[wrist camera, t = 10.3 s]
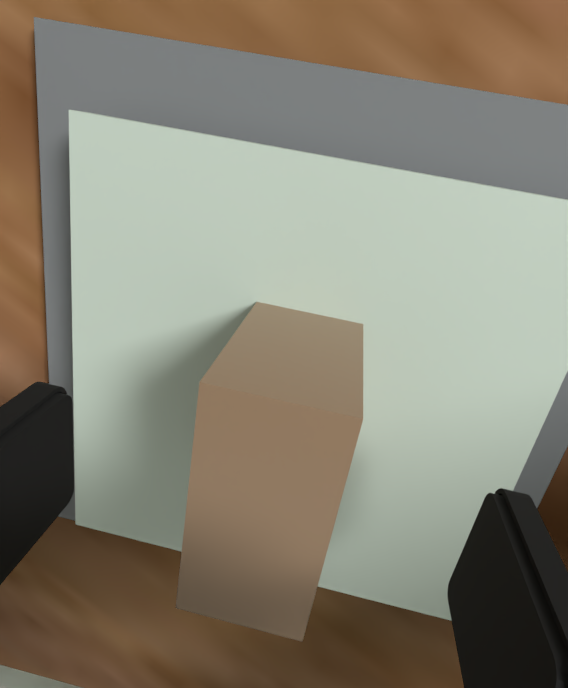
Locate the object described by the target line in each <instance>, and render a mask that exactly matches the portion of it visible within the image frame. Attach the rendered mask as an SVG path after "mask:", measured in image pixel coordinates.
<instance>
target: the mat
mask: <svg viewBox="0 0 568 688" xmlns="http://www.w3.org/2000/svg"><path fill="white" fill-rule="evenodd" d="M34 33H35V57H36V81H37V105H38V129H39V153H40V177H41V201H42V225H43V249H44V273H45V297H46V321H47V345H48V369H49V384H52V385H56V386H60V387H63V388H65V390H66V392H67V395H70V396H71V398H72V402H73V343H72V283H71V223H70V163H69V110H76V111H83V112H90V113H95V114H101V115H106V116H111V117H117V118H122V119H128V120H133V121H139V122H144V123H150V124H155V125H161V126H166V127H172V128H177V129H183V130H188V131H194V132H199V133H205V134H210V135H216V136H221V137H227V138H232V139H238V140H243V141H249V142H254V143H260V144H265V145H271V146H276V147H282V148H287V149H293V150H298V151H304V152H309V153H315V154H320V155H326V156H331V157H337V158H342V159H348V160H353V161H359V162H364V163H370V164H375V165H381V166H386V167H392V168H397V169H403V170H408V171H414V172H419V173H425V174H430V175H435V176H441V177H446V178H452V179H457V180H463V181H468V182H474V183H479V184H485V185H490V186H496V187H501V188H507V189H512V190H518V191H523V192H529V193H534V194H540V195H545V196H551V197H556V198H562V199H567V200H568V105H565V104H559V103H553V102H546V101H540V100H534V99H528V98H522V97H516V96H510V95H504V94H498V93H492V92H486V91H480V90H474V89H467V88H461V87H455V86H449V85H443V84H437V83H431V82H425V81H419V80H413V79H407V78H401V77H395V76H389V75H382V74H376V73H370V72H364V71H358V70H352V69H346V68H340V67H334V66H328V65H322V64H316V63H310V62H304V61H297V60H291V59H285V58H279V57H273V56H267V55H261V54H255V53H249V52H243V51H237V50H231V49H225V48H218V47H212V46H206V45H200V44H194V43H188V42H182V41H176V40H170V39H164V38H158V37H152V36H146V35H140V34H133V33H127V32H121V31H115V30H109V29H103V28H97V27H91V26H85V25H79V24H73V23H67V22H61V21H54V20H48V19H42V18H36V17H34ZM567 446H568V371H567V373H566V375H565V378H564V380H563V382H562V384H561V386H560V389H559V391H558V393H557V395H556V397H555V400H554V402H553V404H552V406H551V408H550V411H549V413H548V415H547V417H546V419H545V422H544V424H543V426H542V428H541V430H540V432H539V435H538V437H537V439H536V441H535V443H534V446H533V448H532V450H531V452H530V454H529V457H528V459H527V461H526V463H525V465H524V468H523V470H522V472H521V474H520V476H519V479H518V481H517V483H516V485H515V487H514V490H513V491H516V492H520V493H524V494H528V495H530V497H531V498H532V500H533V502H534V504H535V506H536V508H538V506H539V504H540V502H541V500H542V497H543V495H544V493H545V491H546V489H547V487H548V485H549V483H550V481H551V479H552V477H553V475H554V473H555V471H556V469H557V467H558V465H559V463H560V461H561V459H562V457H563V455H564V452H565V450H566V448H567ZM73 452H74V403H73ZM58 517H62V518H66V519H70V520H74V521H75V464H74V492H73V495H72V498H71V500H70V502H69V503H68V505H67V506H66V507H65V508H64V509H63V511H62V512H61V513H60V514H59V515H58Z"/></svg>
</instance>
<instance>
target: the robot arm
mask: <svg viewBox="0 0 568 688" xmlns="http://www.w3.org/2000/svg"><path fill="white" fill-rule="evenodd" d="M73 492H74V452H73V402H72V398H71V396H70V395H67V392H66V390H65V388H63V387H60V386H56V385H52V384H47V383H43V382H36V383H34V384H32V385H31V386H30V387H28V388H27V389H25V390H24V391H22V392H21V393H20V394H18V395H17V396H15V397H14V398H12V399H11V400H10V401H8V402H7V403H5V404H4V405H3V406H1V407H0V585H1V583H2V582H3V581H4V580H5V579H6V577H7V576H8V575H9V574H10V573H11V571H12V570H13V569H14V568H15V567H16V565H17V564H18V563H19V562H20V561H21V560H22V558H23V557H24V556H25V555H26V554H27V552H28V551H29V550H30V549H31V548H32V546H33V545H34V544H35V543H36V542H37V540H38V539H39V538H40V537H41V536H42V534H43V533H44V532H45V531H46V530H47V529H48V527H49V526H50V525H51V524H52V523H53V521H54V520H55V519H56V518H57V517H58V515H59V514H60V513H61V512H62V511H63V509H64V508H65V507H66V506H67V505H68V503H69V502H70V500H71V498H72V495H73ZM447 596H448V604H449V609H450V614H451V620H452V625H453V630H454V636H455V641H456V646H457V651H458V657H459V662H460V667H461V673H462V678H463V683H464V688H568V572H567V570H566V568H565V566H564V564H563V562H562V560H561V558H560V555H559V553H558V551H557V549H556V547H555V545H554V543H553V541H552V539H551V537H550V535H549V533H548V531H547V529H546V527H545V525H544V523H543V520H542V518H541V516H540V514H539V512H538V510H537V508H536V506H535V504H534V502H533V500H532V498H531V497H530V495H528V494H524V493H520V492H516V491H511V490H507V489H503V488H500V489H498V490H497V491H496V492H495V494H494V493H488V494H487V495H486V497H485V499H484V501H483V503H482V506H481V508H480V510H479V513H478V515H477V517H476V520H475V522H474V524H473V527H472V529H471V531H470V534H469V536H468V538H467V541H466V543H465V546H464V548H463V550H462V553H461V555H460V557H459V560H458V562H457V564H456V567H455V569H454V571H453V574H452V576H451V578H450V581H449V584H448V592H447ZM0 688H82V687H79V686H75V685H71V684H68V683H64V682H60V681H57V680H53V679H50V678H46V677H42V676H39V675H35V674H32V673H28V672H24V671H21V670H17V669H14V668H10V667H6V666H3V665H0Z"/></svg>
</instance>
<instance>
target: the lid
mask: <svg viewBox="0 0 568 688" xmlns="http://www.w3.org/2000/svg"><path fill="white" fill-rule="evenodd" d="M69 163H70V223H71V283H72V343H73V403H74V464H75V524H76V525H80V526H84V527H88V528H91V529H95V530H99V531H103V532H107V533H111V534H115V535H119V536H123V537H127V538H131V539H134V540H138V541H142V542H146V543H150V544H154V545H158V546H162V547H166V548H170V549H173V550H177V551H181V562H180V571H179V581H178V590H177V600H176V608H177V609H181V610H185V611H189V612H192V613H196V614H200V615H204V616H207V617H211V618H215V619H219V620H222V621H226V622H230V623H234V624H237V625H241V626H245V627H249V628H252V629H256V630H260V631H264V632H267V633H271V634H275V635H279V636H282V637H286V638H290V639H294V640H297V641H301V642H302V641H303V638H304V634H305V630H306V627H307V623H308V619H309V616H310V612H311V608H312V605H313V601H314V597H315V594H316V590H317V586H318V587H322V588H326V589H330V590H333V591H337V592H341V593H345V594H349V595H353V596H357V597H361V598H365V599H369V600H373V601H376V602H380V603H384V604H388V605H392V606H396V607H400V608H404V609H408V610H412V611H415V612H419V613H423V614H427V615H431V616H435V617H439V618H443V619H447V620H451V614H450V609H449V604H448V596H447V592H448V584H449V581H450V578H451V576H452V574H453V571H454V569H455V567H456V564H457V562H458V560H459V557H460V555H461V553H462V550H463V548H464V546H465V543H466V541H467V538H468V536H469V534H470V531H471V529H472V527H473V524H474V522H475V520H476V517H477V515H478V513H479V510H480V508H481V506H482V503H483V501H484V499H485V497H486V495H487V494H488V493H494V494H495V492H496V491H497V490H498V489H500V488H503V489H507V490H511V491H513V490H514V487H515V485H516V483H517V481H518V479H519V476H520V474H521V472H522V470H523V468H524V465H525V463H526V461H527V459H528V457H529V454H530V452H531V450H532V448H533V446H534V443H535V441H536V439H537V437H538V435H539V432H540V430H541V428H542V426H543V424H544V422H545V419H546V417H547V415H548V413H549V411H550V408H551V406H552V404H553V402H554V400H555V397H556V395H557V393H558V391H559V389H560V386H561V384H562V382H563V380H564V378H565V375H566V373H567V371H568V200H567V199H562V198H556V197H551V196H545V195H540V194H534V193H529V192H523V191H518V190H512V189H507V188H501V187H496V186H490V185H485V184H479V183H474V182H468V181H463V180H457V179H452V178H446V177H441V176H435V175H430V174H425V173H419V172H414V171H408V170H403V169H397V168H392V167H386V166H381V165H375V164H370V163H364V162H359V161H353V160H348V159H342V158H337V157H331V156H326V155H320V154H315V153H309V152H304V151H298V150H293V149H287V148H282V147H276V146H271V145H265V144H260V143H254V142H249V141H243V140H238V139H232V138H227V137H221V136H216V135H210V134H205V133H199V132H194V131H188V130H183V129H177V128H172V127H166V126H161V125H155V124H150V123H144V122H139V121H133V120H128V119H122V118H117V117H111V116H106V115H101V114H95V113H90V112H83V111H76V110H69ZM451 621H452V620H451Z"/></svg>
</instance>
